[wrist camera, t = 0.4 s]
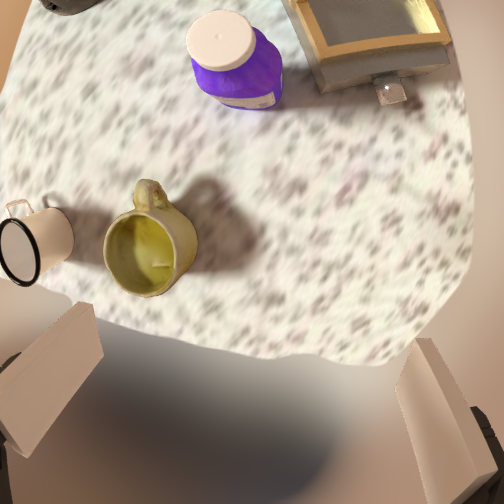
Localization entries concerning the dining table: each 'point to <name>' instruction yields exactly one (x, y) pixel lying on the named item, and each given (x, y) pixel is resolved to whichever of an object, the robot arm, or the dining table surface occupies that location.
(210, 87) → the bottle
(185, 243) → the mug
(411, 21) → the grey and tan box
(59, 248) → the mug
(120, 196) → the dining table surface
